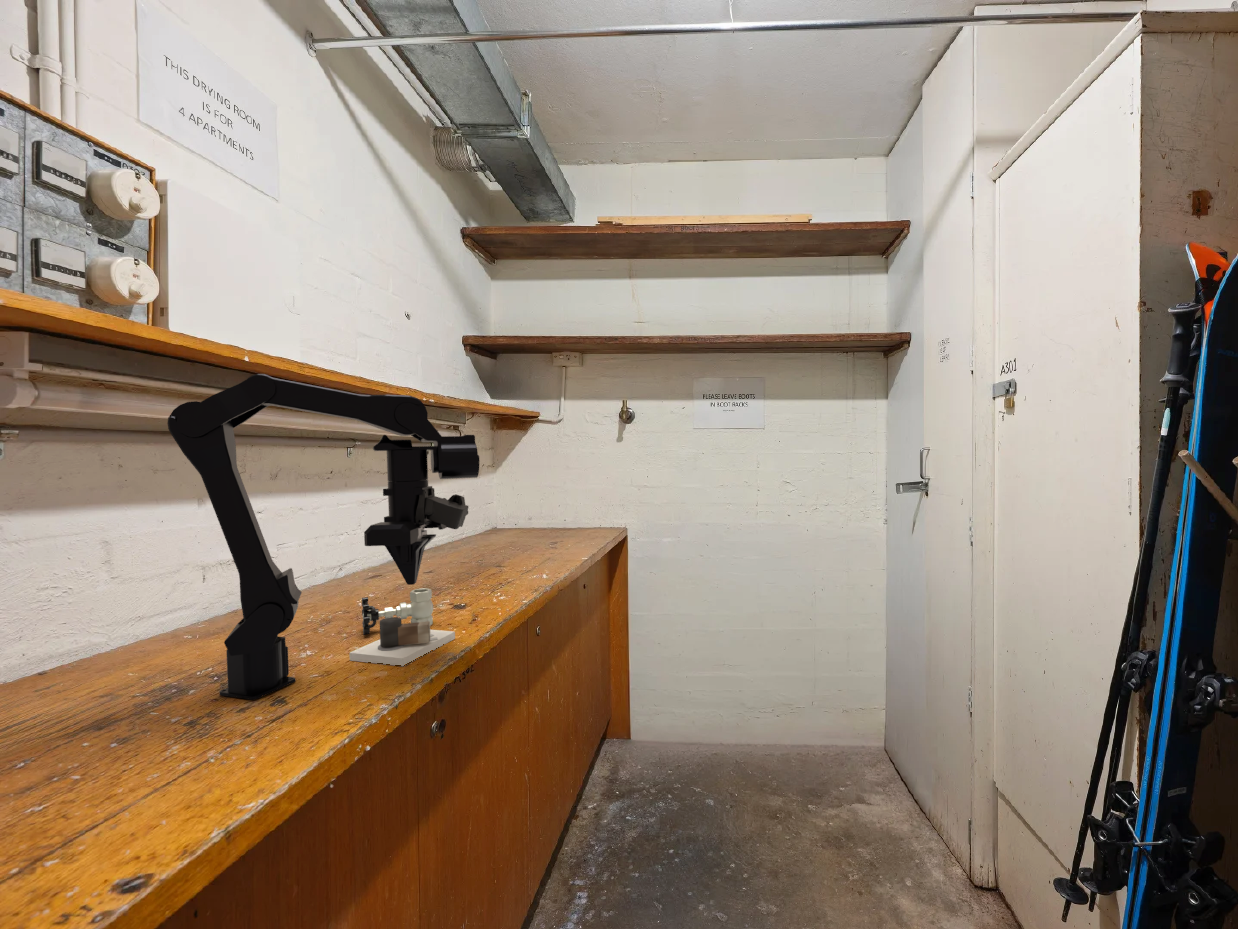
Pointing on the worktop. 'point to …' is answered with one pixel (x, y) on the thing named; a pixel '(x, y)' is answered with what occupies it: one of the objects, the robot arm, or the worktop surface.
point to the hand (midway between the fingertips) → (411, 584)
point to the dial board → (400, 650)
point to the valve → (401, 609)
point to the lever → (403, 632)
